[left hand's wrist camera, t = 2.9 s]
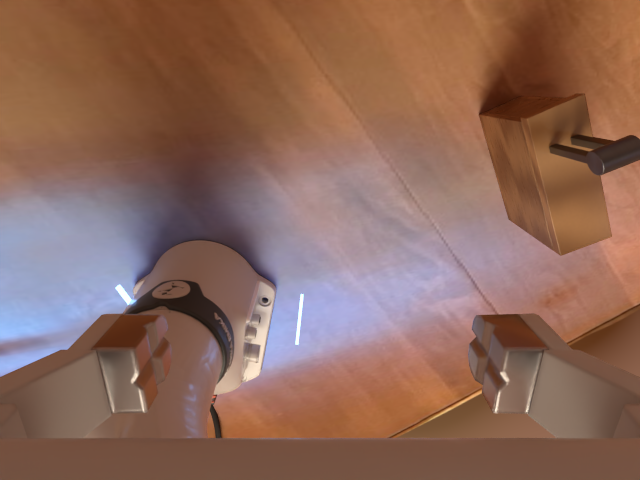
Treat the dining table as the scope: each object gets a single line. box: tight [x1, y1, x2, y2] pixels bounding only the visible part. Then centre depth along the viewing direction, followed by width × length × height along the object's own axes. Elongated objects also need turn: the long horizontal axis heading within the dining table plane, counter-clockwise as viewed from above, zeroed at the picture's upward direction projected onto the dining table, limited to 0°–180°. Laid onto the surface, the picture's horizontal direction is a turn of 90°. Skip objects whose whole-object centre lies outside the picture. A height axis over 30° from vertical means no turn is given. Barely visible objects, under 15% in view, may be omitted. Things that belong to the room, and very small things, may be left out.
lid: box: [521, 94, 640, 256], centre depth 33 cm, size 14×5×9 cm, turn 24°
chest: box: [479, 96, 565, 251], centre depth 42 cm, size 14×5×10 cm, turn 24°
